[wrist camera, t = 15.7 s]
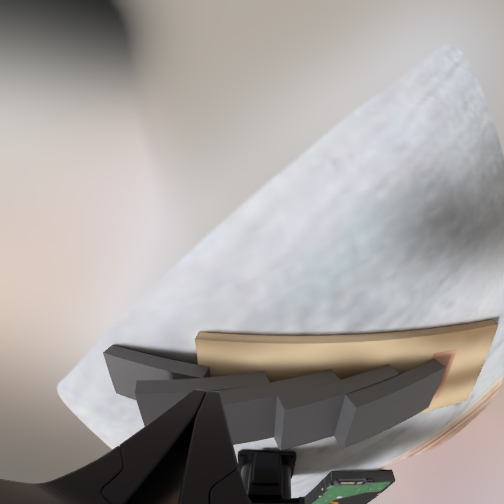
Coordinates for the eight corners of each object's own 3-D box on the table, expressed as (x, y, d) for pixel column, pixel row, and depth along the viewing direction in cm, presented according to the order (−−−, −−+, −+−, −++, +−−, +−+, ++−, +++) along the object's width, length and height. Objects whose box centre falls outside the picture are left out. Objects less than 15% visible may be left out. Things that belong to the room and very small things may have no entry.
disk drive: (345, 507, 30) (392, 466, 26) (346, 519, 27) (397, 481, 23) (289, 507, 30) (329, 468, 26) (289, 520, 27) (331, 485, 23)
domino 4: (399, 373, 18) (284, 409, 16) (384, 415, 20) (280, 450, 17) (388, 364, 20) (277, 395, 18) (375, 405, 21) (274, 436, 19)
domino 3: (340, 379, 19) (207, 406, 16) (330, 421, 20) (214, 447, 18) (330, 368, 20) (205, 391, 18) (322, 410, 22) (211, 433, 19)
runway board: (462, 394, 22) (467, 400, 21) (208, 415, 24) (206, 423, 23) (492, 319, 20) (498, 324, 18) (198, 331, 22) (194, 339, 21)
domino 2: (270, 383, 19) (134, 393, 17) (266, 425, 20) (148, 435, 18) (264, 371, 21) (136, 380, 18) (261, 412, 22) (148, 422, 19)
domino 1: (202, 378, 19) (103, 352, 22) (208, 420, 21) (116, 392, 23) (209, 366, 21) (112, 344, 23) (214, 408, 22) (124, 384, 24)
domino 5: (445, 366, 18) (356, 407, 16) (428, 407, 19) (342, 448, 17) (434, 358, 20) (345, 394, 17) (418, 399, 21) (333, 435, 18)
